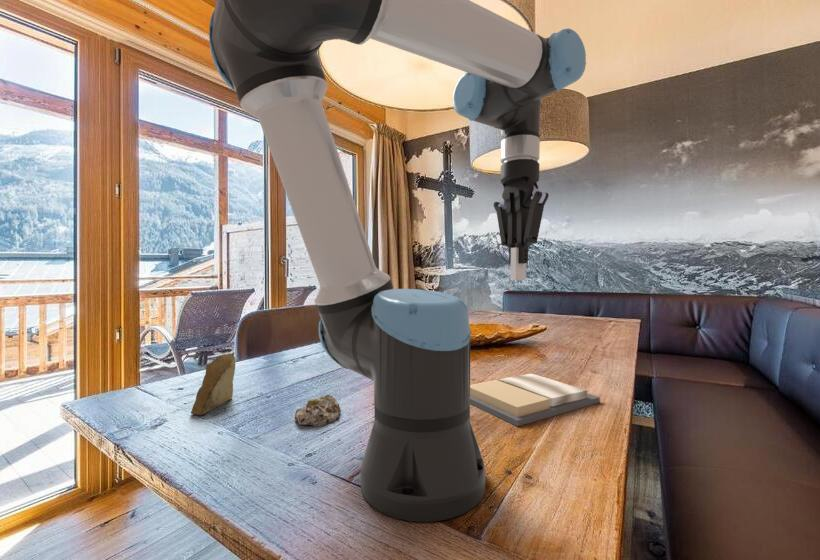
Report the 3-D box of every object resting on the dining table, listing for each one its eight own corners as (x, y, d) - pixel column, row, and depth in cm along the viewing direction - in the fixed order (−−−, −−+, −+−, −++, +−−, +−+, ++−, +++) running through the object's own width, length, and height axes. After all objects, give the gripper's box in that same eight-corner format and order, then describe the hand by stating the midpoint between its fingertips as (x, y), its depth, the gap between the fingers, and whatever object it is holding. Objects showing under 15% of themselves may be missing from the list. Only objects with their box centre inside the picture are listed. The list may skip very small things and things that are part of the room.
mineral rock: (330, 417, 61) (288, 400, 63) (323, 442, 62) (281, 425, 63) (354, 397, 72) (317, 384, 74) (348, 419, 72) (312, 405, 74)
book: (551, 406, 67) (551, 398, 67) (497, 386, 80) (498, 379, 80) (587, 397, 72) (587, 390, 72) (531, 379, 84) (531, 373, 84)
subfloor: (517, 426, 62) (517, 410, 62) (459, 398, 76) (458, 385, 76) (599, 402, 73) (599, 388, 73) (535, 381, 87) (535, 370, 86)
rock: (204, 408, 65) (253, 385, 74) (181, 367, 67) (232, 349, 76) (183, 432, 71) (231, 408, 79) (163, 394, 72) (212, 375, 81)
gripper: (559, 157, 71) (557, 280, 71) (510, 173, 83) (509, 280, 83) (531, 150, 68) (528, 280, 68) (484, 168, 79) (482, 279, 79)
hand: (518, 280), depth 75 cm, fingers closed
